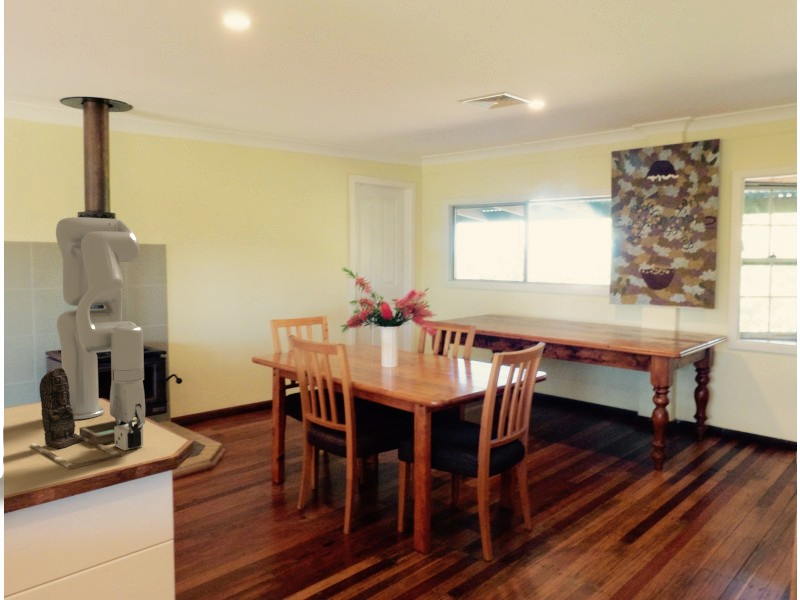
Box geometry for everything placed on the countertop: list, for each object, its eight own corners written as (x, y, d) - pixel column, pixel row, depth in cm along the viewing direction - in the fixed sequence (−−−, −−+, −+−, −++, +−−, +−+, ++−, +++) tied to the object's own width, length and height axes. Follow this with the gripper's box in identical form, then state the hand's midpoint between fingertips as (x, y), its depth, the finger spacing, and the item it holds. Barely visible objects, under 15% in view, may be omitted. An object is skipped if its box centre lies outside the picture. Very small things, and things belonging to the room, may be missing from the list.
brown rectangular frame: (30, 445, 158) (30, 443, 158) (79, 435, 168) (79, 433, 168) (70, 469, 143) (70, 466, 143) (121, 456, 152) (121, 453, 152)
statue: (60, 449, 156) (57, 371, 154) (39, 445, 159) (36, 368, 157) (82, 441, 163) (80, 366, 161) (62, 438, 165) (59, 363, 163)
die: (114, 445, 159) (114, 426, 158) (133, 441, 163) (133, 422, 162) (124, 450, 156) (123, 430, 155) (143, 445, 159) (143, 426, 159)
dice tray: (79, 436, 166) (79, 427, 166) (120, 428, 175) (120, 419, 174) (98, 446, 159) (98, 436, 159) (139, 436, 168) (139, 427, 167)
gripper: (97, 371, 160) (99, 440, 162) (129, 382, 149) (131, 456, 151) (126, 367, 165) (127, 433, 167) (159, 377, 155) (160, 448, 156)
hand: (129, 443), depth 159 cm, fingers closed on die, 5 cm apart
